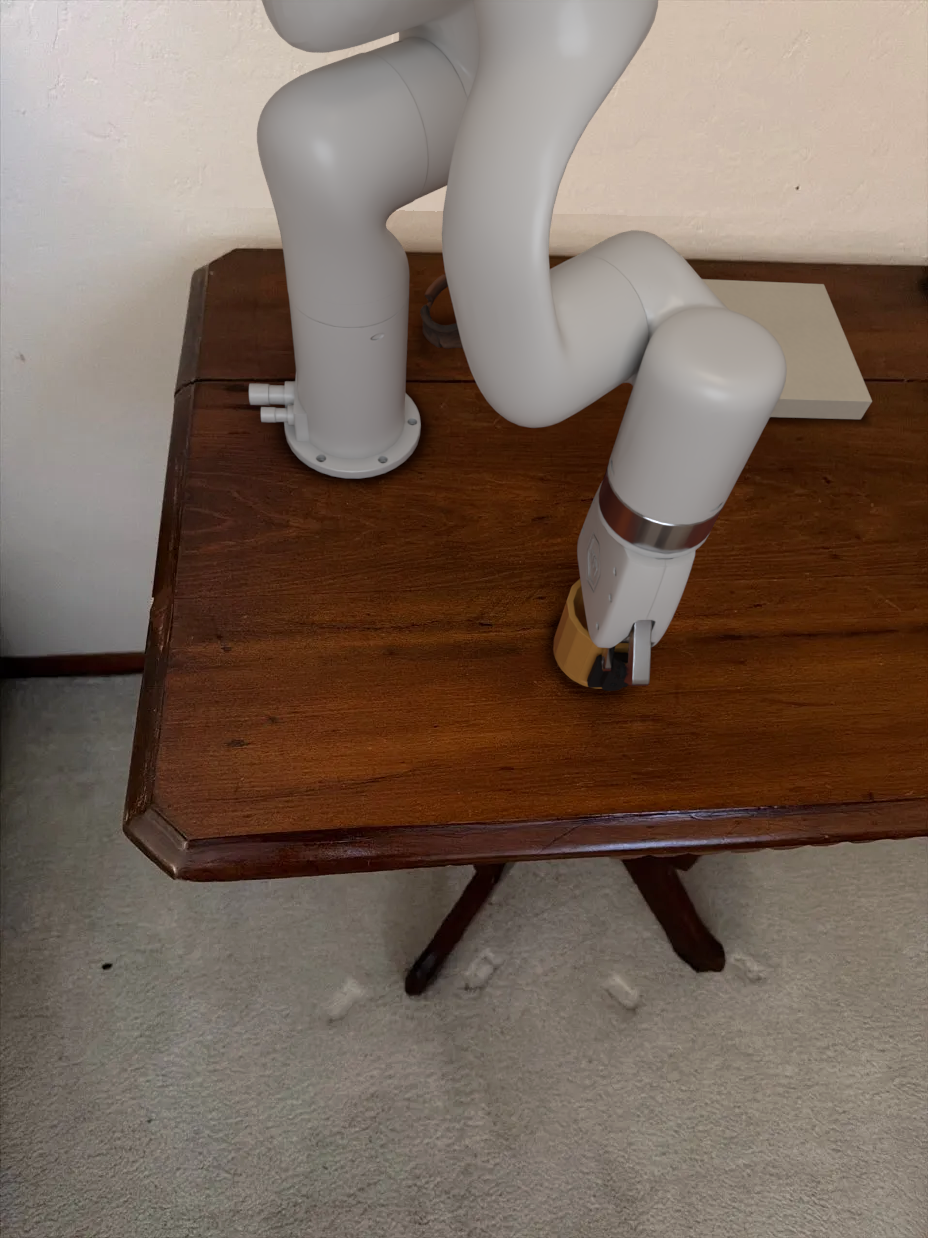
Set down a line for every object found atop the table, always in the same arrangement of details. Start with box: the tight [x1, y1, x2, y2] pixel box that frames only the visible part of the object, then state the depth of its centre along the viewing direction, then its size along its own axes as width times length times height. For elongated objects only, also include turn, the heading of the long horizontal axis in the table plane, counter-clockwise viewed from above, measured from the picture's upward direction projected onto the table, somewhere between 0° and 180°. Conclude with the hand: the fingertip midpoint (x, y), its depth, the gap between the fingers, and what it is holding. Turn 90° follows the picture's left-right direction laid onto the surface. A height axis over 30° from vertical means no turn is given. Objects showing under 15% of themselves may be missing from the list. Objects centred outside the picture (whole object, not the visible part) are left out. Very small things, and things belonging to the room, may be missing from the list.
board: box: [701, 278, 873, 420], centre depth 92 cm, size 20×18×2 cm
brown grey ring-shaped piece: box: [419, 273, 464, 350], centre depth 89 cm, size 12×10×8 cm
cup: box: [552, 578, 629, 690], centre depth 69 cm, size 7×7×6 cm
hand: (600, 640), depth 70 cm, fingers closed on cup, 7 cm apart
